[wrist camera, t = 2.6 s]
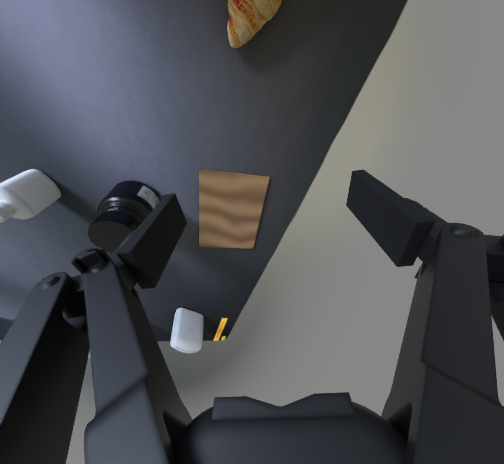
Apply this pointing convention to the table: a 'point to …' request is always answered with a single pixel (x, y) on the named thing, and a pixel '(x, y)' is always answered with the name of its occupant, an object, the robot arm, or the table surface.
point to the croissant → (248, 18)
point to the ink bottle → (122, 213)
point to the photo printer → (187, 331)
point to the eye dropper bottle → (26, 195)
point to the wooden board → (230, 208)
